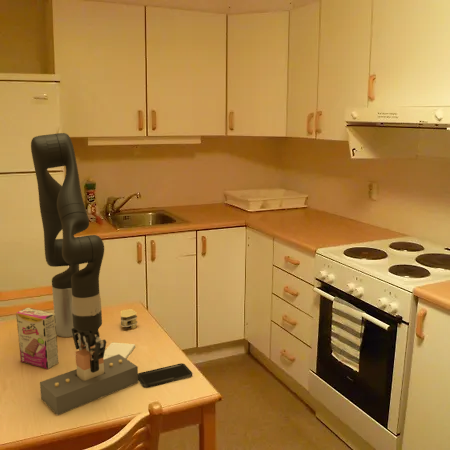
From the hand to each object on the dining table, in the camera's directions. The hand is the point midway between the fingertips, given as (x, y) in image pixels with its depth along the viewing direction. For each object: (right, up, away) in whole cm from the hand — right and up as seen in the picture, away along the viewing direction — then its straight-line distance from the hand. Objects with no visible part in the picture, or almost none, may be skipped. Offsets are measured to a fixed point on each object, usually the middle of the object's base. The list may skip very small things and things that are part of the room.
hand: (90, 368), depth 141 cm
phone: (+19, -6, +9) cm, 22 cm away
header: (0, -7, +1) cm, 7 cm away
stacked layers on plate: (+2, +2, +43) cm, 43 cm away
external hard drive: (+3, -3, +22) cm, 23 cm away
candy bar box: (-20, -3, +17) cm, 26 cm away
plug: (0, -6, +1) cm, 6 cm away
